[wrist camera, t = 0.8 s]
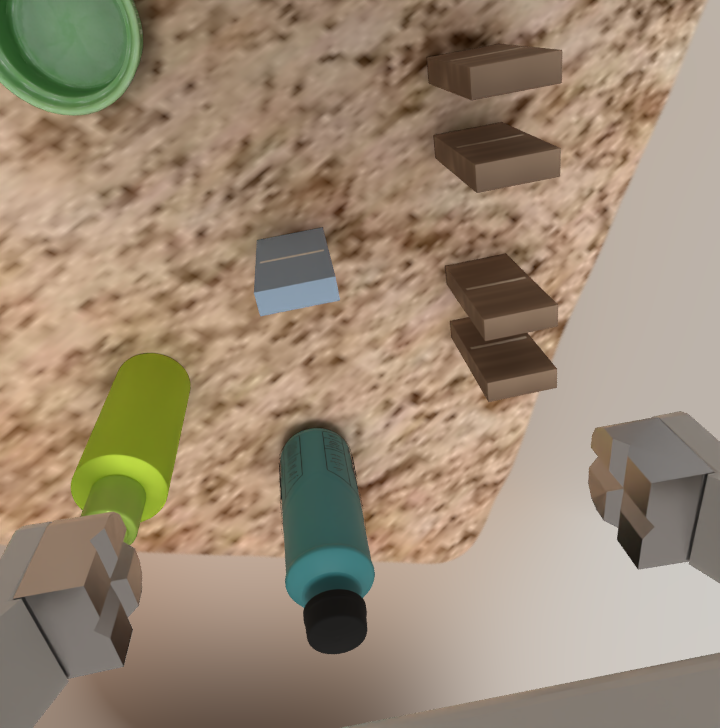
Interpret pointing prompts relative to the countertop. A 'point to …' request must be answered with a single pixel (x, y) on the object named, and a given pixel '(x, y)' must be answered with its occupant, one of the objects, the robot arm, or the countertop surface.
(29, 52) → the ramekin
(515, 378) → the domino
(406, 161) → the countertop surface
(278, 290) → the domino
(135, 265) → the countertop surface
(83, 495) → the soap dispenser
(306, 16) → the countertop surface
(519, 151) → the domino
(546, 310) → the domino
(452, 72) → the domino
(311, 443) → the beverage bottle
